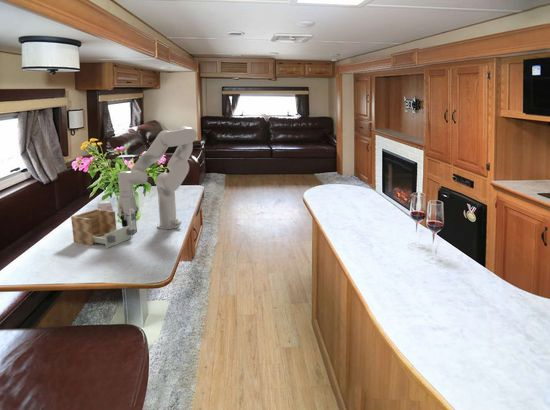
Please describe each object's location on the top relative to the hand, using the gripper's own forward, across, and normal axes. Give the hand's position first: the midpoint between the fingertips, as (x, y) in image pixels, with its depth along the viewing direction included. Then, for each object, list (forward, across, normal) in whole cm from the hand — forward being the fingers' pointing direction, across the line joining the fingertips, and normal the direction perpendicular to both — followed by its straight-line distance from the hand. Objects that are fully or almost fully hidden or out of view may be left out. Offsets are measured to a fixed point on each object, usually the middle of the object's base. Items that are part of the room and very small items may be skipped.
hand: (129, 224), depth 282 cm
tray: (+4, +17, +4) cm, 18 cm away
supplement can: (+5, -3, -20) cm, 21 cm away
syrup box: (+5, 0, 0) cm, 5 cm away
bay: (+5, +17, -8) cm, 20 cm away
